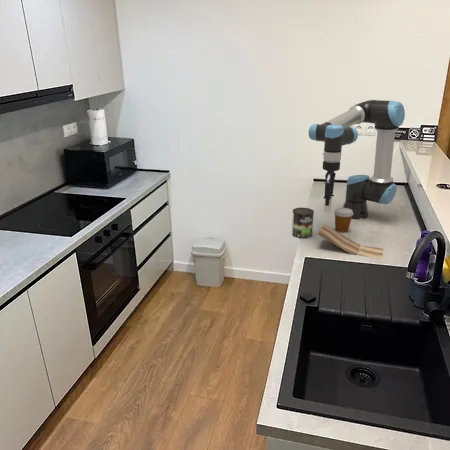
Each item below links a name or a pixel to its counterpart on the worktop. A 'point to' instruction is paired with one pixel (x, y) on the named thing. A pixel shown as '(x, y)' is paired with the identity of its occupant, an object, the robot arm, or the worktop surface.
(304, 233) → the coffee can
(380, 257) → the laid plank
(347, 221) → the disposable coffee cup
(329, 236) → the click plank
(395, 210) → the worktop surface
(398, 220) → the worktop surface
